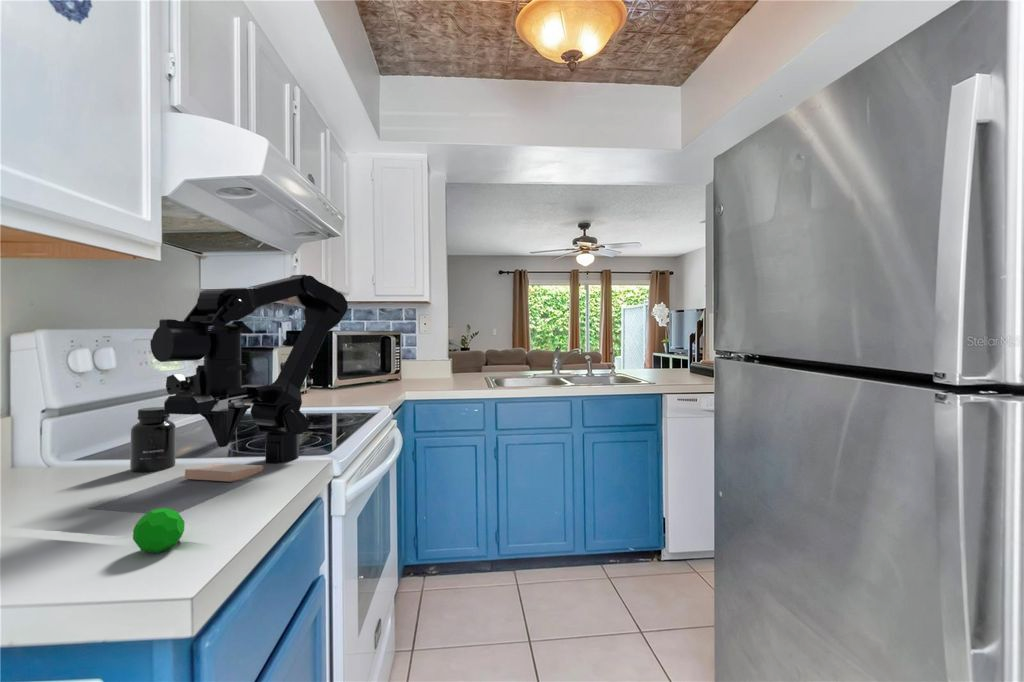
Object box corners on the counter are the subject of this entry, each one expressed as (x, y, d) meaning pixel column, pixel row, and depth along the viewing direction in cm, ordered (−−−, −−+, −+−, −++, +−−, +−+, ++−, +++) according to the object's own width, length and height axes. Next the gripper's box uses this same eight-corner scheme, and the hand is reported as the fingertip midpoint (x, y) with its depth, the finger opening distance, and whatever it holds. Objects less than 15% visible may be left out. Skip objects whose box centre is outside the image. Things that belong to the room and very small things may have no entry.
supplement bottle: (147, 478, 85) (147, 412, 85) (121, 474, 87) (120, 410, 87) (184, 468, 92) (184, 406, 92) (159, 465, 94) (158, 405, 94)
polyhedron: (146, 542, 59) (146, 504, 59) (191, 539, 60) (191, 501, 60) (124, 561, 54) (123, 520, 54) (172, 557, 55) (172, 516, 55)
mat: (182, 480, 84) (182, 476, 84) (253, 484, 82) (253, 480, 82) (88, 514, 68) (88, 508, 68) (173, 520, 66) (173, 514, 66)
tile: (184, 478, 82) (219, 471, 90) (230, 481, 80) (262, 474, 88) (185, 469, 82) (220, 463, 90) (231, 471, 80) (263, 465, 88)
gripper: (222, 356, 95) (222, 434, 95) (134, 361, 76) (134, 458, 76) (272, 357, 93) (273, 436, 93) (195, 362, 74) (195, 461, 75)
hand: (223, 446), depth 84 cm, fingers closed
